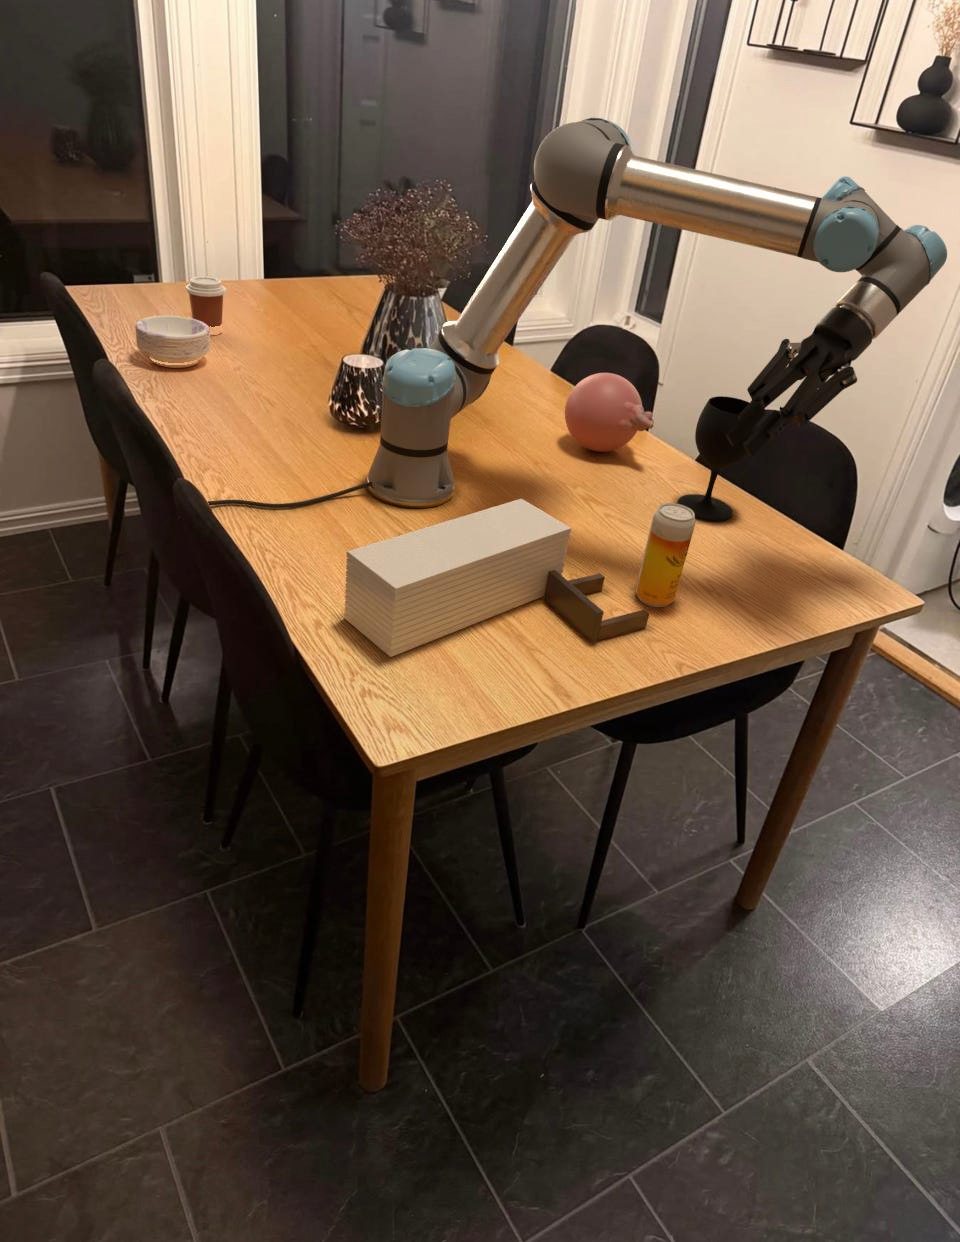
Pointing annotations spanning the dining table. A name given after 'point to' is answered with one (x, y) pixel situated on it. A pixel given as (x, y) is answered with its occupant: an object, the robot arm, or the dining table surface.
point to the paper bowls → (173, 339)
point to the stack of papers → (452, 574)
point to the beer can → (665, 554)
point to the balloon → (605, 412)
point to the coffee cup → (206, 299)
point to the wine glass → (716, 454)
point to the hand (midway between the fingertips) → (738, 445)
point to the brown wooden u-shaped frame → (588, 607)
